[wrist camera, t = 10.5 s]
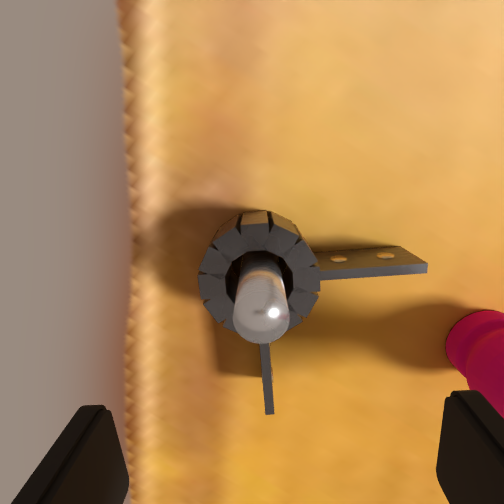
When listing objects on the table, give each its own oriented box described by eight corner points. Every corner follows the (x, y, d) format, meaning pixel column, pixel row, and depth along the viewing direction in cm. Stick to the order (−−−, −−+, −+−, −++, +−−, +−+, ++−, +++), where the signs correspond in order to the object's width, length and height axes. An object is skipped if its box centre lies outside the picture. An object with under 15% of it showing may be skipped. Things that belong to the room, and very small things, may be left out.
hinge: (203, 215, 25) (191, 228, 21) (402, 199, 25) (437, 209, 20) (224, 380, 30) (217, 423, 25) (393, 370, 29) (420, 412, 24)
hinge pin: (240, 244, 26) (230, 294, 16) (277, 241, 26) (288, 290, 16) (243, 278, 27) (235, 345, 17) (279, 276, 27) (291, 341, 17)
